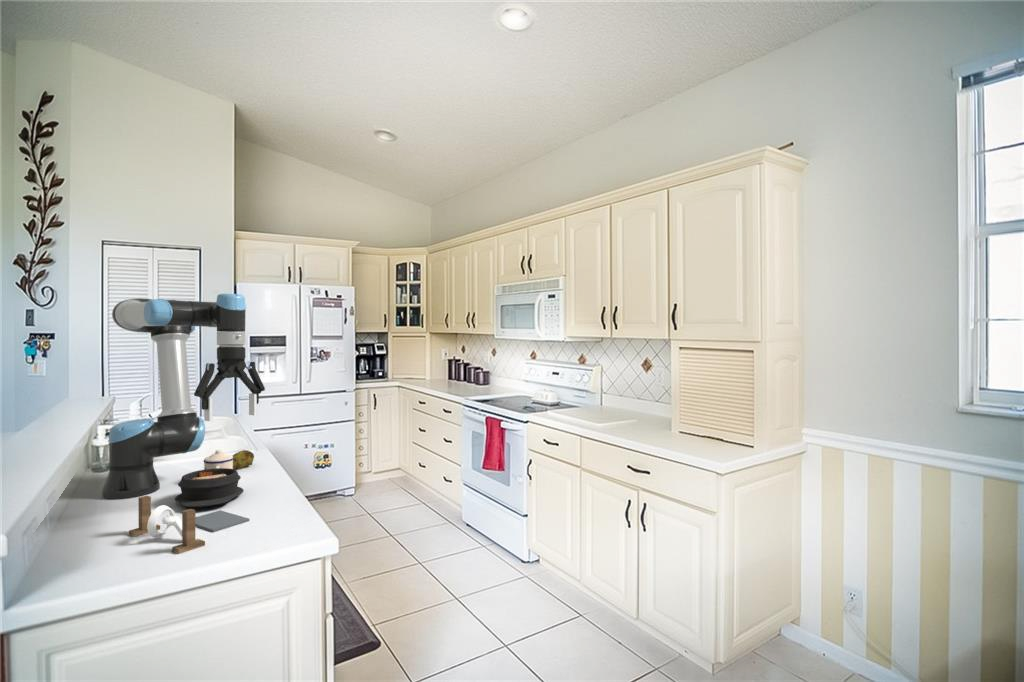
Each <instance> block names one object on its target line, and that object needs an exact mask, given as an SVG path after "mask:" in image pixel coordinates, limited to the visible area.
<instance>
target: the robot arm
mask: <svg viewBox="0 0 1024 682" xmlns="http://www.w3.org/2000/svg"><path fill="white" fill-rule="evenodd" d="M246 309H247V306H246V298H245V296H244V295H243V294H239V293H220V294H217V296H216V301H200V300H199V301H197V300H196V301H195V300H194V301H193V300H178V299H163V298H156V299H155V298H154V299H153V298H140V297H139V298H131V299H130V298H129V299H124V300H122V301H119V302H118V303H117V304H116V305H115V306H114V307H113V309H112V310H111V311H112V313H111V316H112V320H113V322H114V323H115V324H116V325H117V326H118V327H119V328H121V329H123V330H126V331H129V332H135V333H147V334H148V333H149V334H150V339H151V341H153V342H155V343H156V351H157V353H156V354H157V363H158V366H157V367H158V376H159V389H160V403H161V412H160V413H159V414H158V415H157V417H156V418H157V419H156V420H157V421H154V419H153V418H149V417H148V418H146V417H145V418H138V419H131V420H127V421H122V422H119V423H116V424H114V425H112V426H111V428H110V429H109V432H108V433H109V435H108V455H109V456H108V461H109V462H108V464H109V465H108V468H109V469H108V475H107V477H106V479H105V483H104V485H103V487H102V491H101V493H102V495H101V496H102V498H103V499H105V500H111V501H113V500H114V501H115V500H116V501H117V500H118V501H119V500H128V499H129V500H130V499H134V498H135V499H136V498H139V497H144V496H149V495H152V494H154V493H155V492H157V491H159V490H160V488H161V486H160V485H161V484H160V483H161V482H160V480H159V478H158V475H157V473H156V470H155V467H154V458H158V457H167V456H173V455H179V454H187V453H191V452H194V451H197V450H199V449H200V448H201V446H202V444H203V442H204V439H205V436H206V425H205V424H206V423H205V422H213V397H211V396H212V394H214V392H215V391H216V389H217V388H218V387H219V385H220V384H221V383H222V381H223V380H224V381H225V379H231V378H238V379H240V381H242V383H243V384H244V385H245V387H246V388H247V389H248V390H249V391H250V392H251V393H248V415H249V416H257V414H258V412H257V409H258V408H257V406H258V405H259V402H260V399H259V398H260V397H259V396H260V395H259V394H262V392H265V390H266V388H265V385H264V384H263V383H264V382H263V381H262V380H261V377H260V375H259V373H258V371H257V367H256V362H255V361H247V362H246V361H245V360H246V348H245V345H246ZM196 327H204V328H205V327H206V328H216V345H217V348H216V360H217V362H216V363H214V362H213V363H212V362H209V363H207V362H206V363H205V369H204V373H203V374H202V377H201V379H200V380H199V383H198V385H197V387H196V388H195V391H194V393H193V395H194V396H195V397H198V398H201V400H200V401H201V410H203V412H204V414H203V416H204V419H203V418H202V417H200V416H198V415H197V414H198V413H197V411H196V410H194V409H193V408H192V402H191V392H190V380H189V377H190V376H189V366H188V355H187V345H186V341H188V340H189V338H191V333H193V332H194V331H195V329H196ZM245 369H246V370H247V372H246V371H245ZM216 370H217V372H216V374H215V375H214V373H215V371H216ZM213 375H214V378H213V379H212V377H213ZM248 375H249V376H250V377H249V376H248Z"/></svg>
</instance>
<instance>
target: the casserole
mask: <svg viewBox="0 0 1024 682" xmlns="http://www.w3.org/2000/svg"><path fill="white" fill-rule="evenodd" d="M241 479H242V478H241V476H240V474H239V472H238V470H235V469H228V468H215V469H206V470H204V469H200V470H195V471H191V472H188V473H186V474H184V475H183V476H181V478H180V481H179V482H178V483H177V485H178V487H179V489H180V491H181V493H180V494H178V495H177V496H175V497H174V501H175V502H177V503H179V504H181V506H183V507H185V508H203V507H210V506H218V505H223V504H226V503H228V502H230V501H232V500H233V499H234V498H236V497H238V496H240V495H242V494H243V493H244V491H245V490H244V488H242V487H241V486H238V485H239V481H240V480H241Z"/></svg>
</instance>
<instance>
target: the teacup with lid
mask: <svg viewBox="0 0 1024 682" xmlns="http://www.w3.org/2000/svg"><path fill="white" fill-rule="evenodd" d="M233 459H234V458H233V454H227V453H225V452H223V450H222V449H217V450H215V452H214V453H212V454H211V455H210V456H207V457H205V458H204V459H203V463H204V464H203V466H204V467H203V470H206V469H215V468H228V469H233Z"/></svg>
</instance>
